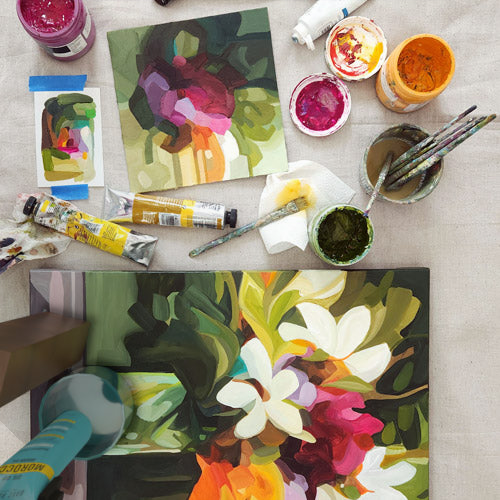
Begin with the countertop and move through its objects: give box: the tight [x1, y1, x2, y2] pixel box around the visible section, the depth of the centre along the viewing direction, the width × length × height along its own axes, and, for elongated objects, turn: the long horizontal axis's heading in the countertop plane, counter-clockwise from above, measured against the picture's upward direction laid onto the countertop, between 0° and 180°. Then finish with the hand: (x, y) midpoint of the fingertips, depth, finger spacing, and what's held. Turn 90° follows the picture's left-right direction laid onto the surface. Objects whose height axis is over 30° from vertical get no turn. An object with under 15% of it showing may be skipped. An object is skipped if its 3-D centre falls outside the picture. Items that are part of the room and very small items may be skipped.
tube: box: [0, 410, 92, 500], centre depth 50 cm, size 7×5×19 cm, turn 100°
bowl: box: [37, 365, 135, 462], centre depth 66 cm, size 12×12×5 cm
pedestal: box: [0, 310, 91, 409], centre depth 58 cm, size 7×6×23 cm
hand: (17, 482), depth 45 cm, fingers closed on tube, 7 cm apart
